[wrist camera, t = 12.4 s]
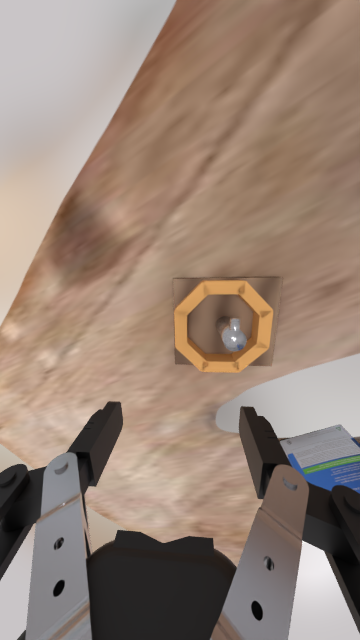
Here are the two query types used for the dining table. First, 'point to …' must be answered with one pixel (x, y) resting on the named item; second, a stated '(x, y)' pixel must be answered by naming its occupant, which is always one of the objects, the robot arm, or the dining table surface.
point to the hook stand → (227, 318)
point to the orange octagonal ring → (237, 358)
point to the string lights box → (326, 457)
